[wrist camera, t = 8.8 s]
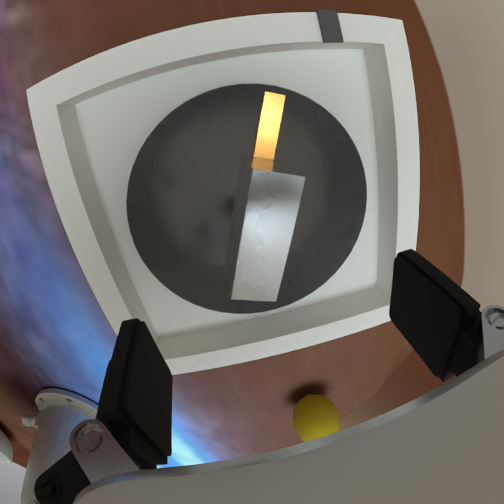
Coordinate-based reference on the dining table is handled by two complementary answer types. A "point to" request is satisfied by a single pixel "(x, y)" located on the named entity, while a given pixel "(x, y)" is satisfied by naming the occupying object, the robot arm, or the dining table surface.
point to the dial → (246, 198)
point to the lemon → (315, 417)
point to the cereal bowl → (5, 449)
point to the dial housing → (191, 85)
